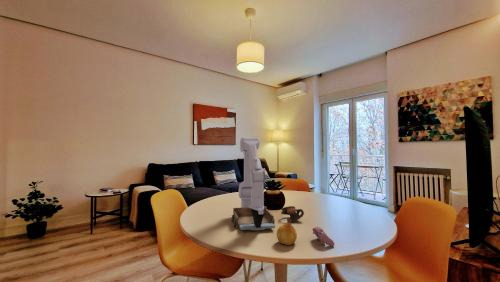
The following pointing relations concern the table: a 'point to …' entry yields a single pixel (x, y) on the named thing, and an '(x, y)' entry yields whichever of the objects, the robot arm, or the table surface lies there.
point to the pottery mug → (292, 213)
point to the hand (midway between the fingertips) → (257, 226)
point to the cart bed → (249, 216)
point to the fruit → (286, 234)
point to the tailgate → (253, 227)
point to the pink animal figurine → (322, 236)
